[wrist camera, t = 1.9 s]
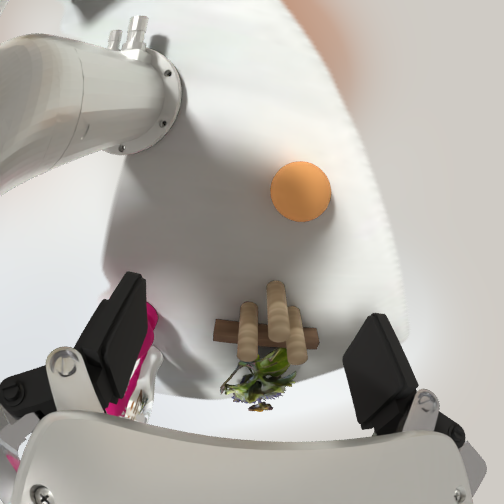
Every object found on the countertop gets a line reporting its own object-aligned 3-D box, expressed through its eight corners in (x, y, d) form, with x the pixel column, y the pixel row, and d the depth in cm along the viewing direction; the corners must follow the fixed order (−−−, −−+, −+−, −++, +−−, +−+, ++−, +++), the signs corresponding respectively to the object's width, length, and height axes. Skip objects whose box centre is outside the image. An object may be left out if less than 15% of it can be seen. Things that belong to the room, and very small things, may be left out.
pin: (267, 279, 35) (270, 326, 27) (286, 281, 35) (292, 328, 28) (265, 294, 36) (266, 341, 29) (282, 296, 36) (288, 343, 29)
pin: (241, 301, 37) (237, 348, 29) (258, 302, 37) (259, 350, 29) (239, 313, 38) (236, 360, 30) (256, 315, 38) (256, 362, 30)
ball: (273, 152, 27) (277, 163, 22) (328, 162, 27) (344, 175, 22) (265, 205, 30) (267, 227, 25) (317, 212, 30) (329, 235, 25)
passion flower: (260, 347, 49) (229, 401, 43) (234, 317, 43) (194, 380, 37) (313, 363, 42) (282, 426, 36) (295, 334, 36) (254, 411, 30)
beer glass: (122, 343, 42) (93, 412, 29) (150, 337, 41) (123, 413, 28) (145, 367, 46) (124, 433, 32) (173, 362, 44) (155, 435, 31)
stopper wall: (215, 319, 38) (213, 333, 36) (316, 328, 39) (319, 342, 36) (215, 326, 39) (213, 340, 37) (313, 334, 40) (316, 349, 37)
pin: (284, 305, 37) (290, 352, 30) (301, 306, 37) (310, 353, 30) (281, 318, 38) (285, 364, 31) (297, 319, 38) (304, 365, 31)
